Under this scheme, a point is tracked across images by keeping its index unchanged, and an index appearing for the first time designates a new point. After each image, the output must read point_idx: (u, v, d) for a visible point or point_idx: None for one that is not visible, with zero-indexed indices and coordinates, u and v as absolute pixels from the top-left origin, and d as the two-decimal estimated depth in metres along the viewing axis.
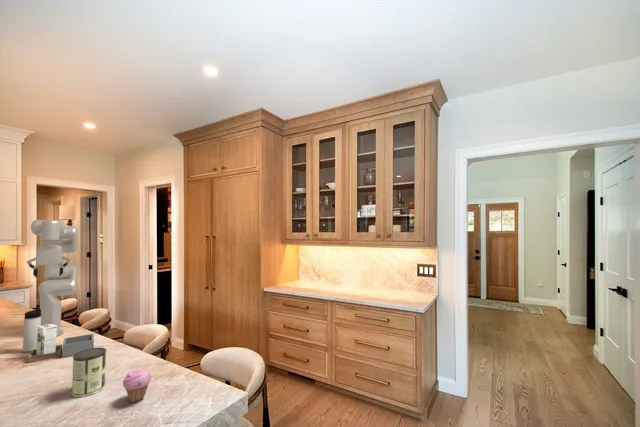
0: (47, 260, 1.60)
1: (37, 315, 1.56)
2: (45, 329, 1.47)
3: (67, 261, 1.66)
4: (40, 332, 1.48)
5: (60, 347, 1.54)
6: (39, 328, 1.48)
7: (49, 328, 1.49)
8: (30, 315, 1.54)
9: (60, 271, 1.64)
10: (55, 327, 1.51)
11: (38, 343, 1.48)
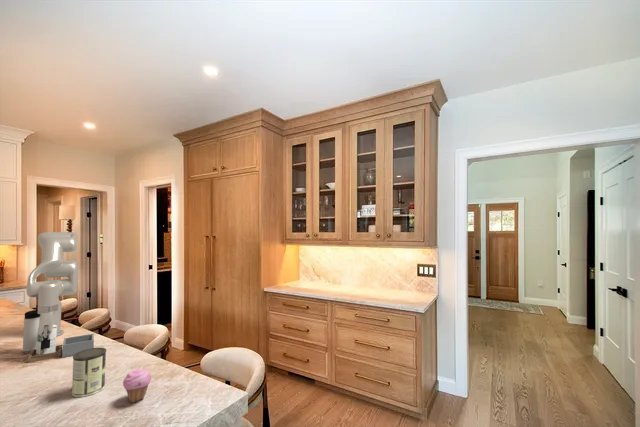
0: None
1: (37, 315, 1.56)
2: None
3: None
4: None
5: (60, 347, 1.54)
6: None
7: None
8: (30, 315, 1.54)
9: None
10: (55, 327, 1.51)
11: (38, 343, 1.48)
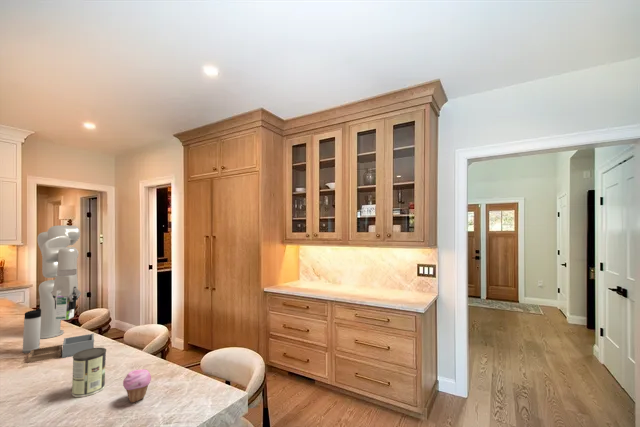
0: None
1: (37, 315, 1.56)
2: None
3: None
4: None
5: (60, 347, 1.54)
6: None
7: None
8: (30, 315, 1.54)
9: None
10: None
11: (60, 306, 1.51)
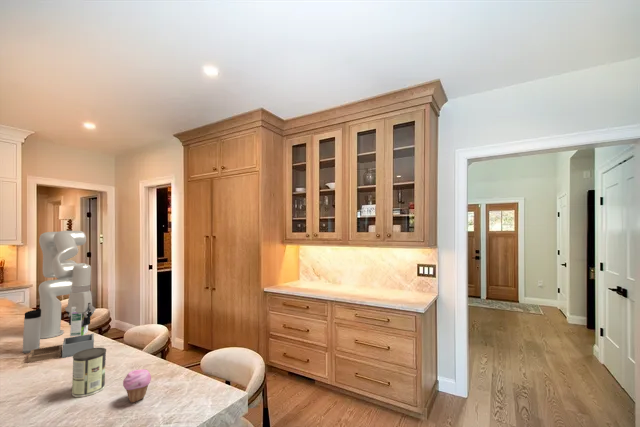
0: None
1: (37, 315, 1.56)
2: None
3: None
4: None
5: (60, 347, 1.54)
6: (75, 308, 1.54)
7: None
8: (30, 315, 1.54)
9: None
10: None
11: (75, 322, 1.53)
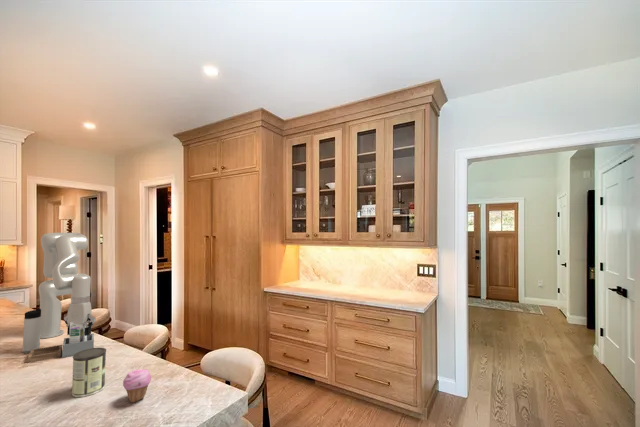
0: None
1: (37, 315, 1.56)
2: None
3: None
4: (76, 326, 1.54)
5: (60, 347, 1.54)
6: None
7: None
8: (30, 315, 1.54)
9: None
10: None
11: (73, 337, 1.53)
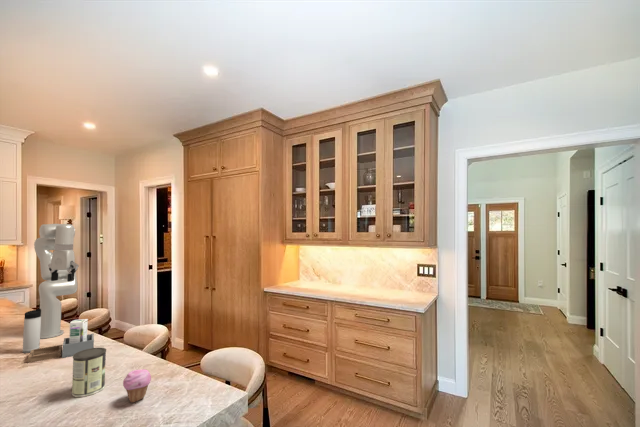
0: None
1: (37, 315, 1.56)
2: (83, 322, 1.55)
3: None
4: (76, 326, 1.54)
5: (60, 347, 1.54)
6: (74, 323, 1.53)
7: (85, 321, 1.57)
8: (30, 315, 1.54)
9: (57, 275, 1.64)
10: (87, 320, 1.59)
11: (73, 337, 1.53)
